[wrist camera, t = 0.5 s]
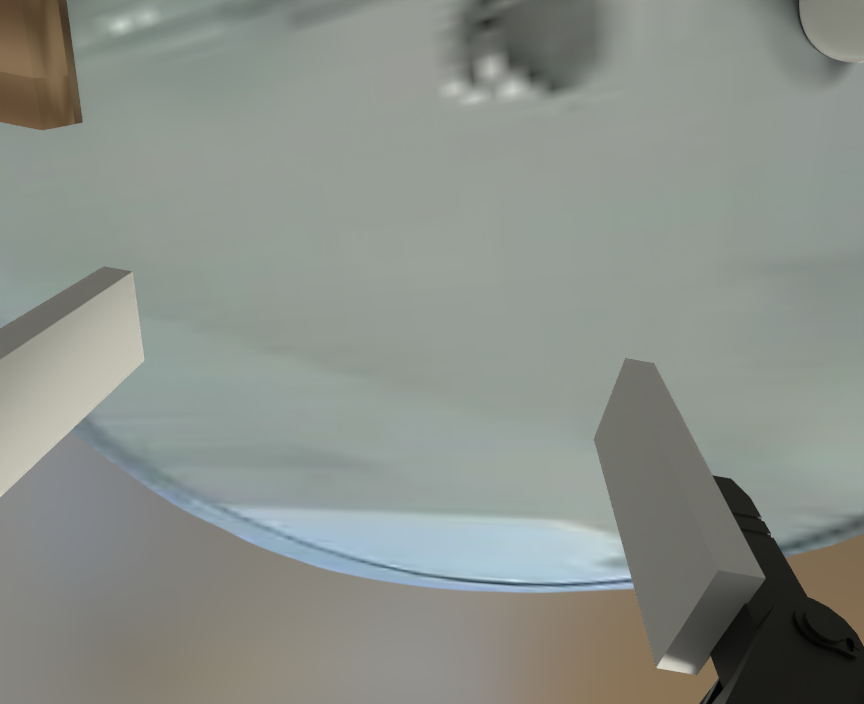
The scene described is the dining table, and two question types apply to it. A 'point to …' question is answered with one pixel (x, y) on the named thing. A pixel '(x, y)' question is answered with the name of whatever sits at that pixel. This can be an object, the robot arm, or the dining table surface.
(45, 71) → the holder block
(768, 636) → the robot arm
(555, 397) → the dining table surface
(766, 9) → the dining table surface
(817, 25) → the mug
